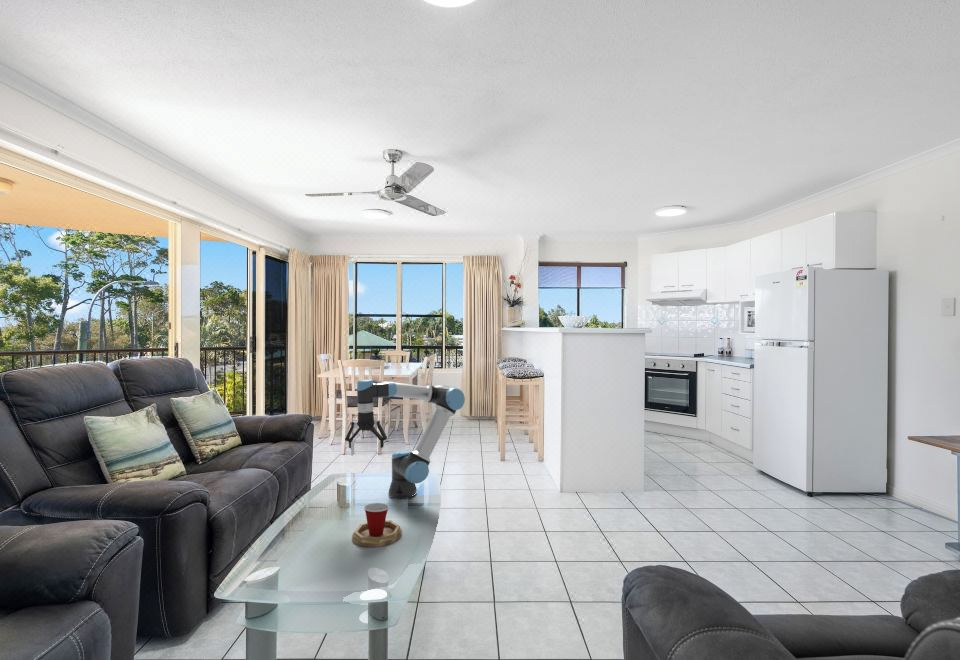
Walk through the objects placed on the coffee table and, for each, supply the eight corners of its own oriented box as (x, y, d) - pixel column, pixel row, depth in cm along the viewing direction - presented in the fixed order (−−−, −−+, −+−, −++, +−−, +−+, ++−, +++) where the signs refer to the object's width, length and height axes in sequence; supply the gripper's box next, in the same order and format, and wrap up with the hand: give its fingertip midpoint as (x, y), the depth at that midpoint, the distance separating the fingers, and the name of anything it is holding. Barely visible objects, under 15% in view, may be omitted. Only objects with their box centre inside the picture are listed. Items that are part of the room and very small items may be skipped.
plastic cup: (394, 530, 196) (394, 503, 196) (378, 541, 186) (378, 512, 186) (374, 526, 201) (374, 499, 201) (358, 536, 191) (358, 508, 191)
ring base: (386, 521, 208) (386, 515, 208) (411, 537, 192) (411, 530, 192) (343, 534, 194) (343, 527, 194) (366, 552, 179) (366, 545, 179)
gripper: (337, 413, 216) (338, 457, 216) (389, 412, 215) (390, 456, 216) (342, 410, 223) (343, 452, 223) (392, 409, 223) (393, 451, 223)
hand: (366, 454), depth 219 cm, fingers open, 13 cm apart
